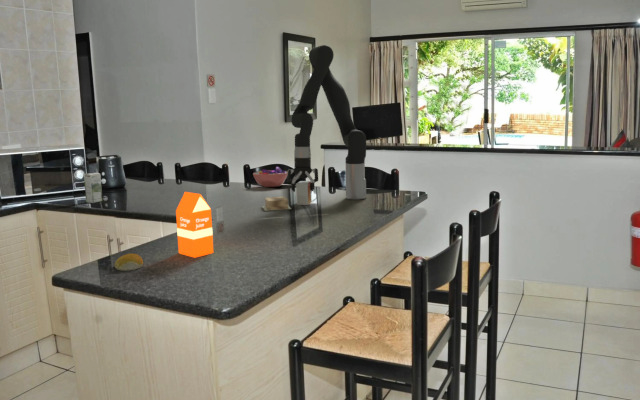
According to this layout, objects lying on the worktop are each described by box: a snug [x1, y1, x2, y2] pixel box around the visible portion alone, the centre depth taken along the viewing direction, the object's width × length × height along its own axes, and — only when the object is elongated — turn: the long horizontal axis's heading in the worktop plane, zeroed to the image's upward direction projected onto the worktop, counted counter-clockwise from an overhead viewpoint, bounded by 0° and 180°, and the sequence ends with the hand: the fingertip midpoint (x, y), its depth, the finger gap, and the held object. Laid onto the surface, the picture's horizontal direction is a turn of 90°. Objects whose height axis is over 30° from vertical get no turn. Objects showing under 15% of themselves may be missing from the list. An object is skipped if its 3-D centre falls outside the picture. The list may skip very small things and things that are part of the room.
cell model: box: [252, 166, 288, 188], centre depth 327 cm, size 17×20×11 cm
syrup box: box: [83, 172, 103, 204], centre depth 291 cm, size 6×6×14 cm
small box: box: [295, 180, 312, 206], centre depth 272 cm, size 8×6×10 cm
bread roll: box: [114, 253, 144, 271], centre depth 177 cm, size 8×9×4 cm
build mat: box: [261, 204, 292, 212], centre depth 263 cm, size 12×10×1 cm
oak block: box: [264, 196, 289, 211], centre depth 263 cm, size 9×9×4 cm
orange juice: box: [175, 191, 214, 259], centre depth 190 cm, size 8×9×20 cm
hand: (302, 191), depth 272 cm, fingers open, 8 cm apart
